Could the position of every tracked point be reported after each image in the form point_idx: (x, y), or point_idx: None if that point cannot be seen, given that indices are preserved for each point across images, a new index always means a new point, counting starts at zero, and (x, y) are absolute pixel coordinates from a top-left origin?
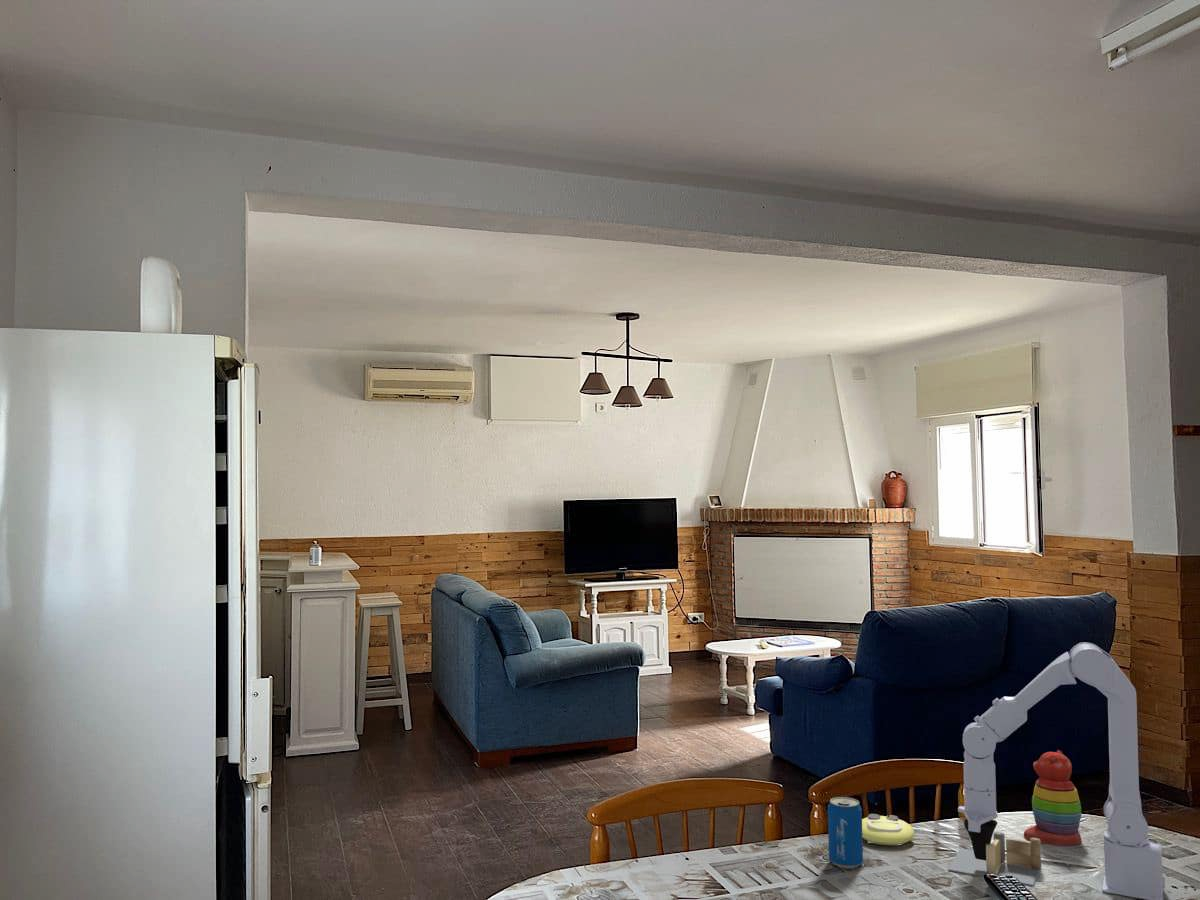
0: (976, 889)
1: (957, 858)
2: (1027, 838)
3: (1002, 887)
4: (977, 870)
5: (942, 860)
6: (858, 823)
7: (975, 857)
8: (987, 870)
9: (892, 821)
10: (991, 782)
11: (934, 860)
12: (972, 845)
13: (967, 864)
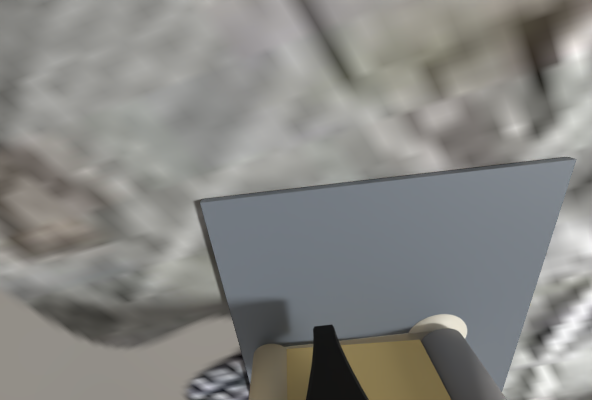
0: (93, 339)
1: (395, 193)
2: None
3: (189, 387)
4: (282, 303)
5: (345, 124)
6: None
7: (314, 331)
8: (255, 358)
9: None
10: None
11: (318, 81)
12: (307, 395)
13: (331, 254)
